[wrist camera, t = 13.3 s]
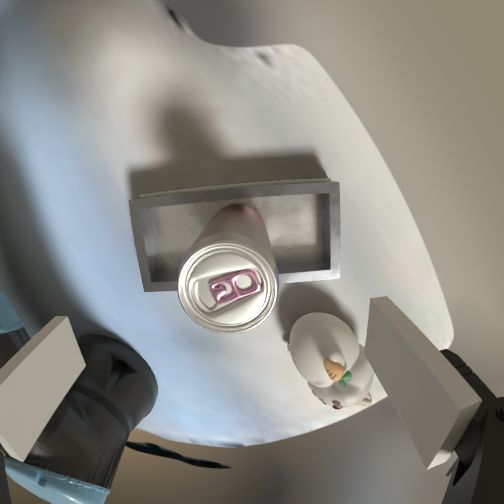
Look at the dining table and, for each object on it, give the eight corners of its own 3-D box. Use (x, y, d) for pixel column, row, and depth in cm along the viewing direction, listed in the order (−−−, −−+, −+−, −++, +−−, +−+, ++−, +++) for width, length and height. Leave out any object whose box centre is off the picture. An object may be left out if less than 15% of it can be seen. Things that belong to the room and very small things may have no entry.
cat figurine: (299, 352, 25) (367, 435, 27) (352, 293, 28) (406, 383, 30) (258, 339, 34) (322, 412, 35) (303, 295, 37) (358, 371, 38)
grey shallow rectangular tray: (155, 280, 33) (144, 294, 29) (142, 193, 30) (128, 197, 26) (330, 267, 33) (339, 280, 29) (328, 177, 30) (338, 179, 26)
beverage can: (274, 248, 31) (295, 317, 17) (222, 268, 32) (201, 348, 17) (253, 195, 29) (257, 220, 15) (199, 216, 30) (155, 261, 16)
